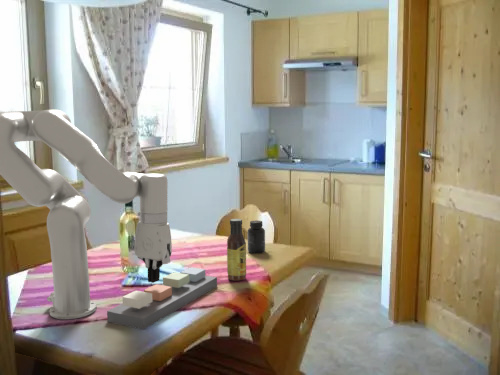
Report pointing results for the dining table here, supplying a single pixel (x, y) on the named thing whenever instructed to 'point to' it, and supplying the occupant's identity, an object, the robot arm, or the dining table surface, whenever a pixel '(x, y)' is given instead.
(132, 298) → the cream key
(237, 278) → the sauce bottle
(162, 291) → the terracotta key
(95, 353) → the dining table surface
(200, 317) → the dining table surface
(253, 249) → the supplement bottle
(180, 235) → the dining table surface
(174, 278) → the sage key
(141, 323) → the keypad base
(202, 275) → the slate key
